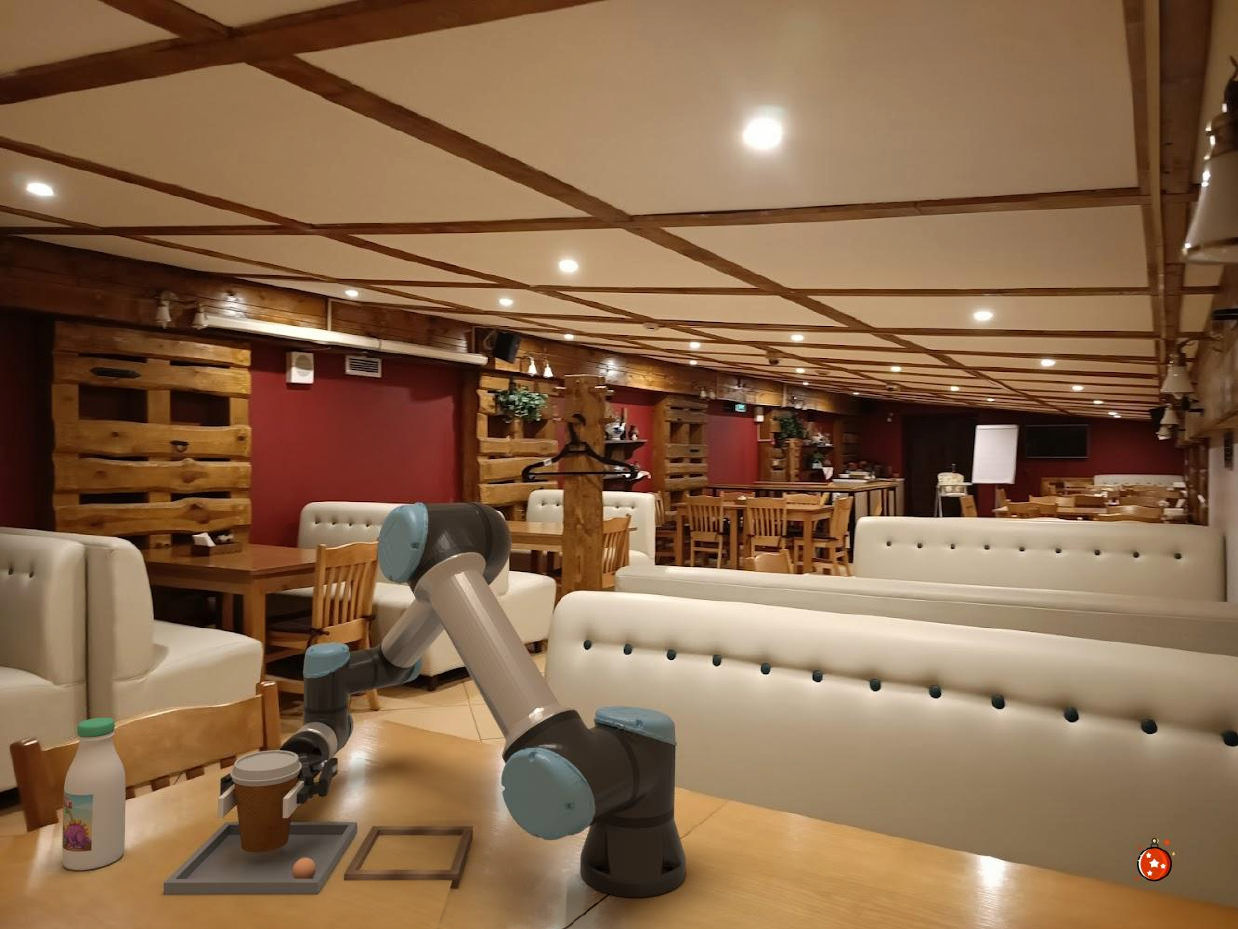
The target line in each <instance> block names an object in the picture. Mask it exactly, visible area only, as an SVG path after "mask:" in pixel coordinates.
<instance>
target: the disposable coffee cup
mask: <svg viewBox="0 0 1238 929" xmlns="http://www.w3.org/2000/svg"><path fill="white" fill-rule="evenodd" d="M301 767H302V765H301V763H300V762H299V758H298V755H297V754H295V753H293V752H289V751H282V750H279V749H278V750H276V749H275V750H273V749H271V750H262V751H256V752H252V753H249V754H246V755H245V754H244V755H243V756H241V757H239V758H238V759H236V760H235V761H234V763H233V768H232V769H231V770H230V772H229V773H230V775H231V777H232V780H233V781H234V786H235V795H236V804H237V805H236V812H237V820H238V821H237V822H239V830H240V839H241V848H242V849H243V850H244V851H247V852H252V853H261V852H269V851H273V850H276V849H278V848H281V847H283V846H284V845H285V844H287V842H288V838H289V831H290V824H291V822H292V817H293V813H292V814H291V815H290V816H289V818H283V798H284V797H285V796H286V795H287V794H288V793H289V791H290V790H291V789H292V788H293V787H294V786H295V785H296V784H297V777H298V774H299V772H300V770H301Z"/></svg>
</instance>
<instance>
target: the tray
mask: <svg viewBox="0 0 1238 929" xmlns="http://www.w3.org/2000/svg"><path fill="white" fill-rule="evenodd" d="M357 833H358V821H349V822H348V821H339V822H338V821H337V822H336V821H291V824H290V831H289V838H288V842H287V844H285V845H284V846H283V847H281V848H278V849H276V850H273V851H269V852H261V853H252V852H247V851H244V850H243V849H242V848H241V839H240V830H239V821H225V822H224V823H223V824H222V825H221V826H220V827H219V828H217V830H216V831H215V832H213V833H212V835H211V836H209V838H208V839H207V840H206V841H205V842H203V844H201V846H199V848H197V849H196V851H194V852H193V853H192V854H191V855H190V857H188V858H187V859H186V860H185V861H184V862H183V863H182V864H181V865H180V866H179V867H178V868H177V869H176V870H175V871H174V872H173V873H172V874H171V875H170V876H169V877H168V878H167V879H166V880H165V881H164V882H163V895H171V896H172V895H176V896H177V895H180V896H181V895H319V894H320V892H321V890H322V889H323V888H324V886H325V884H326V883H327V881H328V879H329V878H330V876H331V875H332V873H333V871H334V870H335V868H336V866H338V864H339V862H340V860H341V859H342V857H343V856H344V854H345V853H346V851H347V849H348V848H349V846H350V845H351V843H352V841H353V840H354V838H355V837H356V835H357ZM302 858H310V859H312V860H313V861H314V863H315V865H316V871H315V874H314V876H313V877H312V878H311V879H295V878H294V877H293V874H292V870H293V866H294V864H295V863H296V862H297V861H298V860H300V859H302Z"/></svg>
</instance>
